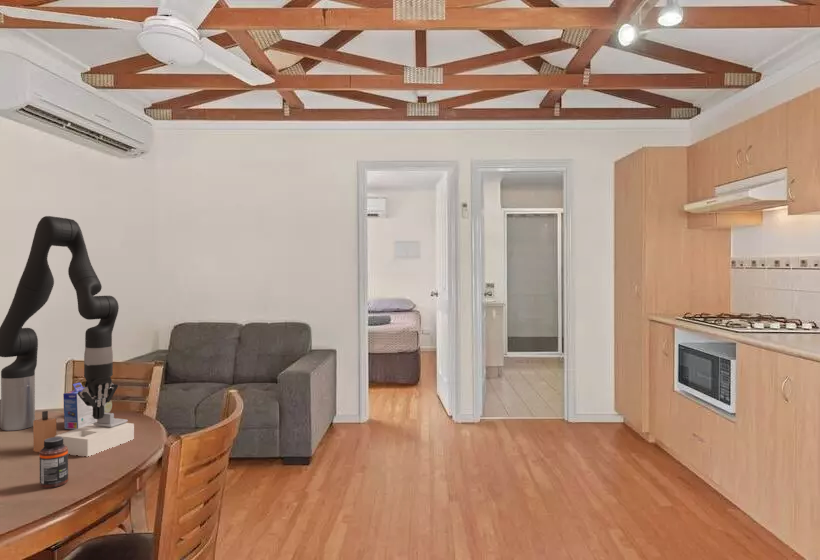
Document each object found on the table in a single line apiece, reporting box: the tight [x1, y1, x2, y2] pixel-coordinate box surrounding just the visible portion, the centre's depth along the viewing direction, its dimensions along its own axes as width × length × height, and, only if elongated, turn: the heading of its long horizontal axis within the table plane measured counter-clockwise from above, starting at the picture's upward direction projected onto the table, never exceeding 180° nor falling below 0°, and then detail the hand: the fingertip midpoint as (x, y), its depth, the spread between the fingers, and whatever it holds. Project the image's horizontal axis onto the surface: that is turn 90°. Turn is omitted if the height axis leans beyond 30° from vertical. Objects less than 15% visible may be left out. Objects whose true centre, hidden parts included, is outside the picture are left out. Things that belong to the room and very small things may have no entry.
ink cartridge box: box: [63, 382, 97, 430], centre depth 186 cm, size 10×6×14 cm, turn 174°
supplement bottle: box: [39, 437, 69, 489], centre depth 134 cm, size 6×6×11 cm
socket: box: [55, 422, 135, 458], centre depth 164 cm, size 12×17×5 cm
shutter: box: [93, 412, 129, 427], centre depth 169 cm, size 7×6×4 cm
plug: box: [32, 410, 57, 453], centre depth 160 cm, size 4×4×11 cm
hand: (98, 418), depth 165 cm, fingers closed
